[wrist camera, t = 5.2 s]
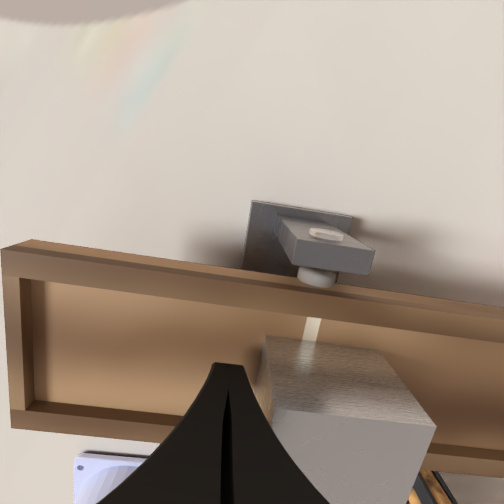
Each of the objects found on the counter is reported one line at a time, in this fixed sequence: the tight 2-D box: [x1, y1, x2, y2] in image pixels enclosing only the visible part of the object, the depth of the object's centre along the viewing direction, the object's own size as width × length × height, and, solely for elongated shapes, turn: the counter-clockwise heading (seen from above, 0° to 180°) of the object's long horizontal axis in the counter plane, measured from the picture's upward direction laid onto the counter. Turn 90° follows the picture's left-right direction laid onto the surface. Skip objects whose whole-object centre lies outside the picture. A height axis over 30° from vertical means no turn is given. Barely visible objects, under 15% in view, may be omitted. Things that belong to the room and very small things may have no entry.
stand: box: [241, 200, 375, 283], centre depth 16 cm, size 13×6×8 cm, turn 171°
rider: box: [254, 335, 437, 504], centre depth 11 cm, size 4×5×4 cm
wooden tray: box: [0, 239, 504, 478], centre depth 14 cm, size 9×24×2 cm, turn 81°
